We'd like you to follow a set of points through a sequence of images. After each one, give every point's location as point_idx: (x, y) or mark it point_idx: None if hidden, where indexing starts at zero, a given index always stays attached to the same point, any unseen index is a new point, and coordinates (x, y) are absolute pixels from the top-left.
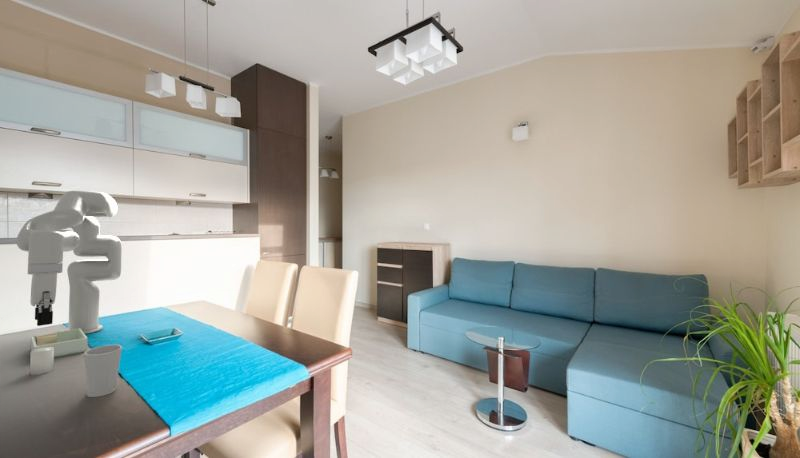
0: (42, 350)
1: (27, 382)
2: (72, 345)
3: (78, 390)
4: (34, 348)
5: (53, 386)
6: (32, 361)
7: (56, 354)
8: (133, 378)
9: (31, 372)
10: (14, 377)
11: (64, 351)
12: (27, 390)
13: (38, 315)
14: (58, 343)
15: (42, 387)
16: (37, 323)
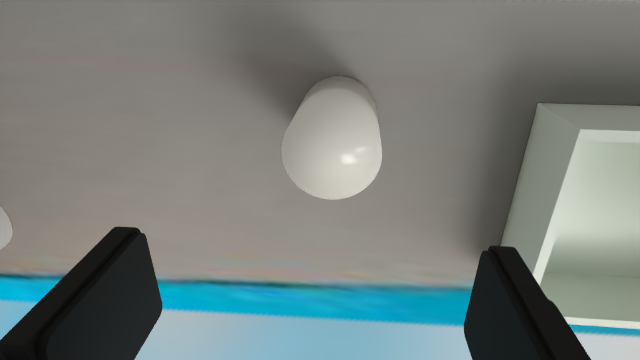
0: (315, 153)
1: (223, 60)
2: (521, 255)
3: (19, 175)
4: (575, 127)
5: (108, 126)
6: (312, 98)
7: (523, 186)
8: (43, 292)
9: (321, 82)
10: (341, 22)
11: (518, 216)
12: (118, 54)
13: (36, 317)
14: (547, 223)
15: (120, 97)
16: (102, 239)
